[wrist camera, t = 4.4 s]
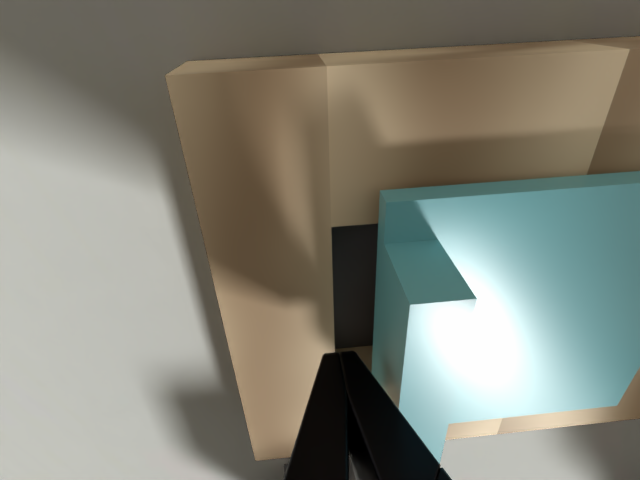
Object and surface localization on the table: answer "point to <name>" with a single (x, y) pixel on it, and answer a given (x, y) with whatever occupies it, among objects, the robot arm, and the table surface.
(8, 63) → the table surface
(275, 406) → the socket plate
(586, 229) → the panel
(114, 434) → the table surface
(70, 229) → the table surface
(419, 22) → the table surface
